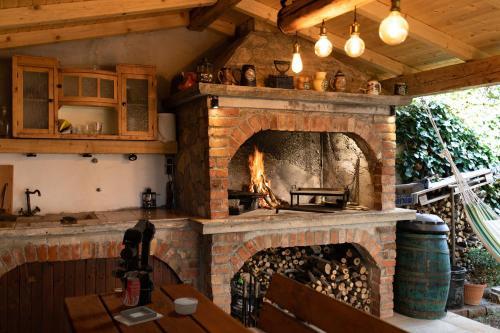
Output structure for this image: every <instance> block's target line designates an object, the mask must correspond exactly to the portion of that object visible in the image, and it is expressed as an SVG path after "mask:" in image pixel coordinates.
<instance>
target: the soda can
mask: <svg viewBox="0 0 500 333" xmlns="http://www.w3.org/2000/svg"><path fill="white" fill-rule="evenodd" d="M139 292H140V281H139V278H136V277H128V279H127V288H126V291H125V290H124V291H123V294H122V295H123V297H122V298H123V299H122V303H123V305H125V306H127V307H128V306H129V307H134V306H137V305H138V304H139V303H138V301H139Z"/></svg>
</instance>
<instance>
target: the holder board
mask: <svg viewBox="0 0 500 333" xmlns="http://www.w3.org/2000/svg"><path fill="white" fill-rule="evenodd" d="M162 318H164V315H162V314H161V313H158V312H157V311H155V310H153V309H151V308H148V307H147V306H143V305H142V306H138V307H134V308H129V309H126V310H125V309H124V310H121V311H120V315H116V316H114V317H113V319H114V320H115V321H117V322H120V323H121V324H123V325H125V326H126V327H131V326H135V325H138V324H143V323H146V322H147V323H148V322H150V321H155V320H158V319H162Z"/></svg>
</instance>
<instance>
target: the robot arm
mask: <svg viewBox="0 0 500 333" xmlns="http://www.w3.org/2000/svg"><path fill="white" fill-rule="evenodd" d="M156 228H157V227H156V225H155V224H154V223H153V222H151V221H150V220H149V218H148V219H147V218H145V219H144V218H139V219H138V221H137V222H136V223H135V225H134V226H133V227H129V228H127V229H126V230H125V231H124V234H123V237H122V238H123V239H122V243H121V246H124V248H123V249H122V250H121V251H120V253H119V257H120V258H121V259H122V260H121V259H120V260H117V261H116V266H117V267H116V268H117V269H112V270H111V272H110V274H111V276H110V277H113V278H115V279H119V280H120V282H121V286H122V285H123V288H124V290H125V291H126V288H127V279H128V277H126V274H130V275H132V274H133V273H137V272H138V275H137V276H136V278H139V281H140V292H139V301H138V304H139V305H142V306H143V305H148V304H152V303H154V301H153V300H152V293H153V292H155V283H154V280H153V277H152V274H151V273H154V267H153V266H152V265H150V260H151V244H152V243H151V242H153V240H154V238H155V235H156V233H157V231H156V230H157V229H156ZM140 245H141V246H140ZM140 247H141V251H140ZM124 260H125V261H124ZM124 269H126V270H124ZM129 271H130V272H129Z"/></svg>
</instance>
